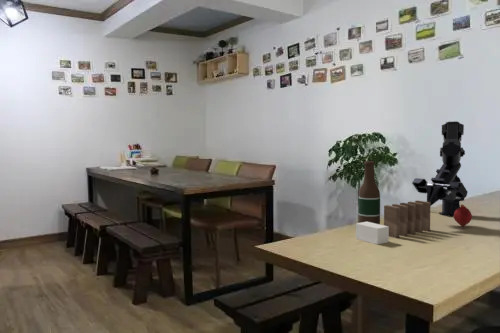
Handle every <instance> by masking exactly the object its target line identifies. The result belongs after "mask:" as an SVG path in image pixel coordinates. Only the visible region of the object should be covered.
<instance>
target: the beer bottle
mask: <svg viewBox="0 0 500 333" xmlns="http://www.w3.org/2000/svg"><path fill="white" fill-rule="evenodd" d="M363 164H364V175H363V182H362V184H361V186H360V188H359V190H358V197H357V198H358V202H357V204H358V211H357V212H358V216H357V218H358V219H357V220H358V221H357V223H361V222H371V223H375V224H380V225H381V191H380V189H379V187H378V185H377V184H376V178H375V177H376V176H375V165H376V163H375V161H374V160H365V161H364V162H363Z"/></svg>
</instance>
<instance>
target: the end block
mask: <svg viewBox="0 0 500 333" xmlns="http://www.w3.org/2000/svg"><path fill="white" fill-rule="evenodd" d="M355 239H356V240H359V241H363V242H367V243H370V244H373V245H383V244H386V243H389V240H390V239H389V226H384V224H381V223H380V224H375V223H371V222H361V223H359V222H357V223H355Z"/></svg>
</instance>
